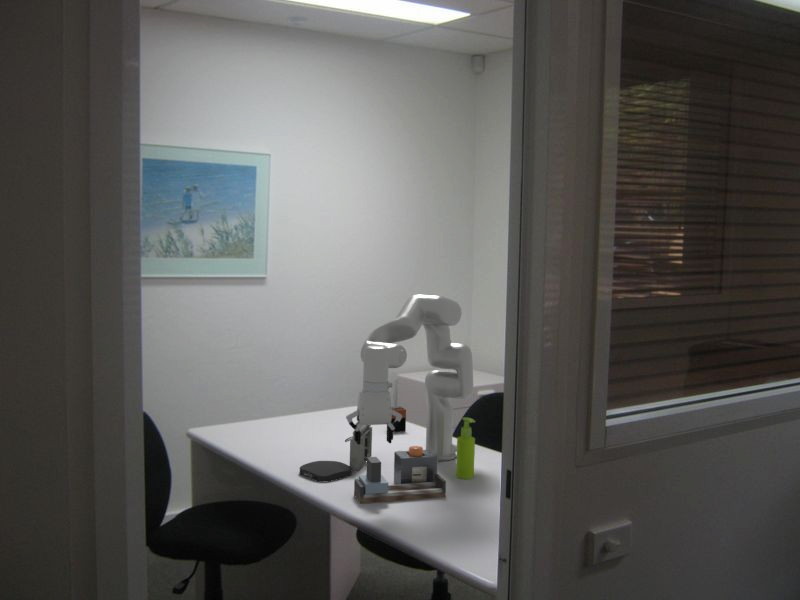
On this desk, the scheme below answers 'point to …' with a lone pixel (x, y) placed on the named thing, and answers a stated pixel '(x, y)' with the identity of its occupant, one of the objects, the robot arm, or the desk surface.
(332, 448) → the desk surface
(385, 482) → the carriage
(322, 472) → the media streaming box
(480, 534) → the desk surface
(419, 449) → the button
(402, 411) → the battery
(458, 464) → the soap dispenser
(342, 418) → the desk surface
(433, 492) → the rail
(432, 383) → the robot arm
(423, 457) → the cabinet
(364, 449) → the geiger counter
